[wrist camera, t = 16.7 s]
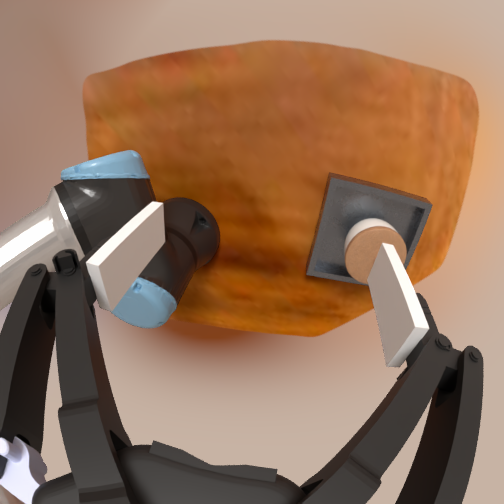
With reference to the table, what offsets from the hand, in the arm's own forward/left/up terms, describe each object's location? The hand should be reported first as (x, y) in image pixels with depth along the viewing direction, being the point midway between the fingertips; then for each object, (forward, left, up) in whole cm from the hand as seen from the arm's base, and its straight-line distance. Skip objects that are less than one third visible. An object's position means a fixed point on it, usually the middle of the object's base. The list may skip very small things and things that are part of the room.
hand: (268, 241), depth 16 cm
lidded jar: (+17, -13, -31) cm, 38 cm away
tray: (+17, -13, -32) cm, 38 cm away
